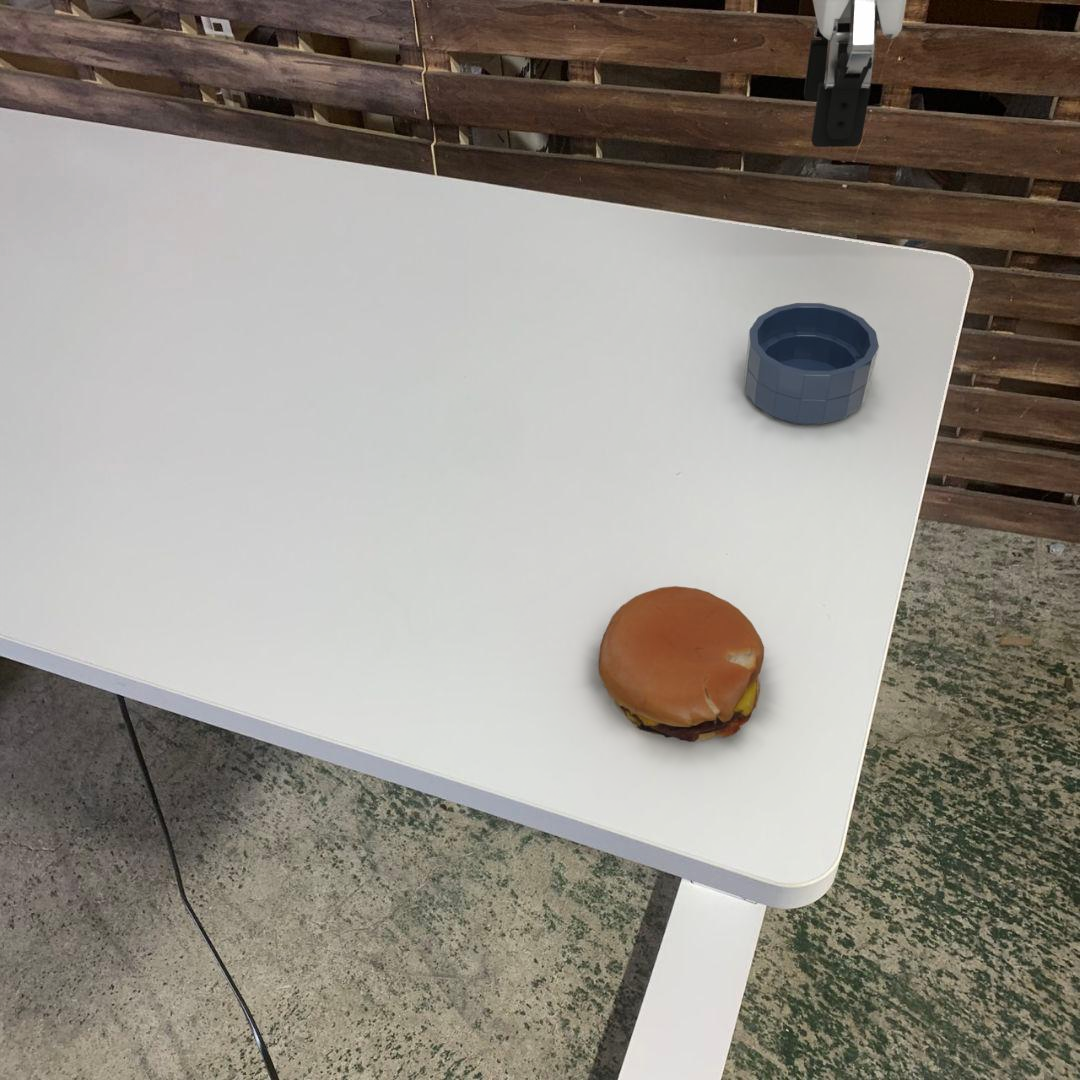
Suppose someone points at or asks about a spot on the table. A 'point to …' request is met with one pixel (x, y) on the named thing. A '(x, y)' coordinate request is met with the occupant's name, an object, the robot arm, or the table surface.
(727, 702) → the burger
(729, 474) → the table surface
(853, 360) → the bowl
